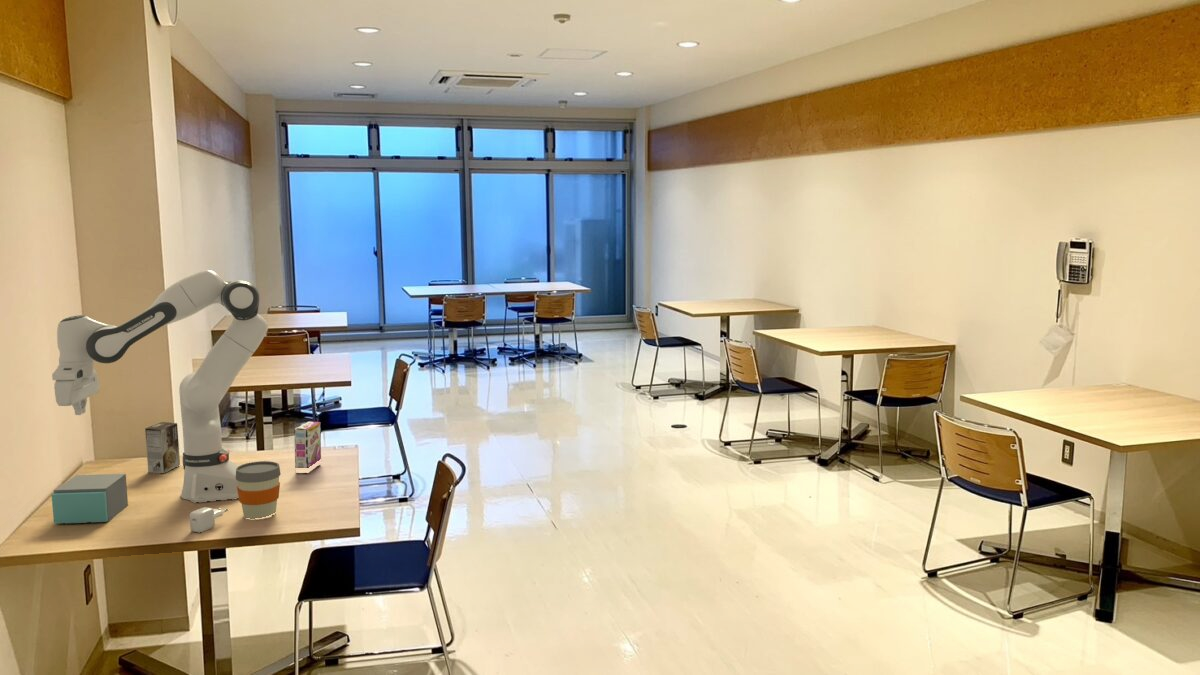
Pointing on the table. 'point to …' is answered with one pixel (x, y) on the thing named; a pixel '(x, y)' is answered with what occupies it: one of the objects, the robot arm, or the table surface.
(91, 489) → the gray drawer box
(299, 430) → the candy bar box
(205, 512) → the power adapter
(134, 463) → the table surface
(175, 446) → the coffee box
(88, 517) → the teal drawer
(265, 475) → the reusable coffee cup
